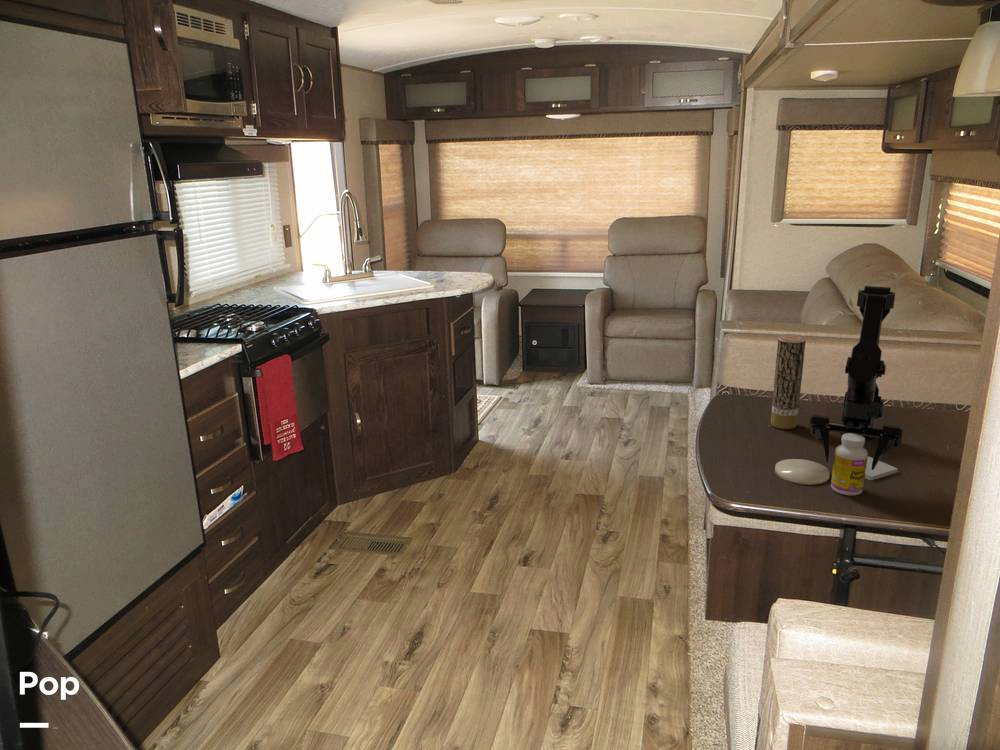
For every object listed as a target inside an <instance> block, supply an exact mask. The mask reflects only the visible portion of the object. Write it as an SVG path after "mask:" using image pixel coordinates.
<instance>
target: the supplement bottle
mask: <svg viewBox="0 0 1000 750" xmlns="http://www.w3.org/2000/svg"><path fill="white" fill-rule="evenodd" d="M840 439H841V444H838V445H837V446H836V448H834V449H835V450H834V455H833V457H834V458H833V466H832V473H831V482H830V487H831V489H832V490H833V491H835V492H836V493H838V494H840V495H845V496H852V497H853V496H858V495H860V494H862V492H863V491H864V485H865V479H866V478H865V472H866V465H867V458H868V456H869V452H868V450H867V449H866V448H865V447H864V446H865V443H866V441H865V438H864V437H863V436H861V435H858V434H853V433H846V434H843V435H841V438H840Z"/></svg>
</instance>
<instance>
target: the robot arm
mask: <svg viewBox="0 0 1000 750" xmlns="http://www.w3.org/2000/svg"><path fill="white" fill-rule="evenodd" d="M896 293H897V292H895V291H892V287H891V286H889V287H888V286H873V285H872V286H871V285H865V286H864V288H863V289H859V290H858V291H857V298H856V299H857V301H856V306H857V307H859V312H860V314H861V316H862V323H861V328H860V329H861V330H860V335H859V341H858V343H857V344H856V345H855V346H853V347H852V350H851V357H850V356H847V360H846V363H845V367H844V373H845V374H847V391H845V394H844V400H843V409H842V416H841V423H839V422H838V423H837V422H831V420H830V419H831V416H826V415H819V414H813V415H812V416H810V420H809V434H810V435H812V436H814V437H815V439H816V440H820V443H821V445H822V448H823V454H824V458H825V462H826V463H829V459H830V432H835V433H839V435H841V436H842V435H843V434H846V433H853V434H858V435H861V436H863V437H864V438H865V442H866V441H868V440H872V439H876V438H878V442H877V446H876V449H875V452H874V456H873V457H872V458H873V462H872V470H874V468H875V467H876V465H877V463H878V462H879V461H881V459H882V457H883V456H884V454H886V452H887V451H888V450H892V451H893V450H894V448H900V447H901V443H902V439H903V438H902V436H903V431H904V429H903V428H902V427H901V426H900V425H899V426H898V425H893V424H885V423H883V425H882V429H880V428H874V427H873V425H874V419H875V420H878V419H879V418H882V416H883V410H884V409H883V407H884V401H883V400H882V396H881V395H879V393H880V388H879V386H878V384H877V379H879V378H882V376H884V375H885V374H886V369H887V365H886V364H885V361H884V360H882V352H883V351H882V349H881V348H880V346H879V345H880V344H879V343H880V338H881V330H882V325H883V324H882V323H883V321H884V320H885V319H886V318H887V316H888V315H889V314H890V313H891V309H894V305H895V299H896Z"/></svg>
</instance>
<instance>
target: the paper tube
mask: <svg viewBox="0 0 1000 750" xmlns="http://www.w3.org/2000/svg"><path fill="white" fill-rule="evenodd" d="M806 342H807V341H806V337H805V336H803V335H800V334H793V333H792V334H790V333H789V334H786V333H785V334H779V335H778V338H777V345H776V346H777V349H776V358H775V370H774V382H773V383H774V384H773V392H772V393H773V394H772V402H771V403H772V405H771V415H770V424H771V426H772V427H774V428H777V429H780V430H793V429H795V428H796V427H797V426H798V420H799V409H800V401H801V390H802V389H801V388H802V380H803V371H804V361H805V359H804V358H805V351H806V350H805V349H806Z"/></svg>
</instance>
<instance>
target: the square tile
mask: <svg viewBox="0 0 1000 750" xmlns="http://www.w3.org/2000/svg"><path fill="white" fill-rule="evenodd" d="M873 458H874V457H871V456H869V455H868V458H867V465H866V472H865V479H866V480H869V481H870V480H872V481H875V480H877V479H881V478H884V477H887V476H890V475H891V476H892V475H894V474H896V473H898V469H899V468H897V467H895V466H892V465H890V464H888V463H886V462H883V461H881V460H879V462H878V463H877V465H876V467H875V468H874V470H872V462H873ZM874 479H875V480H874Z"/></svg>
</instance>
